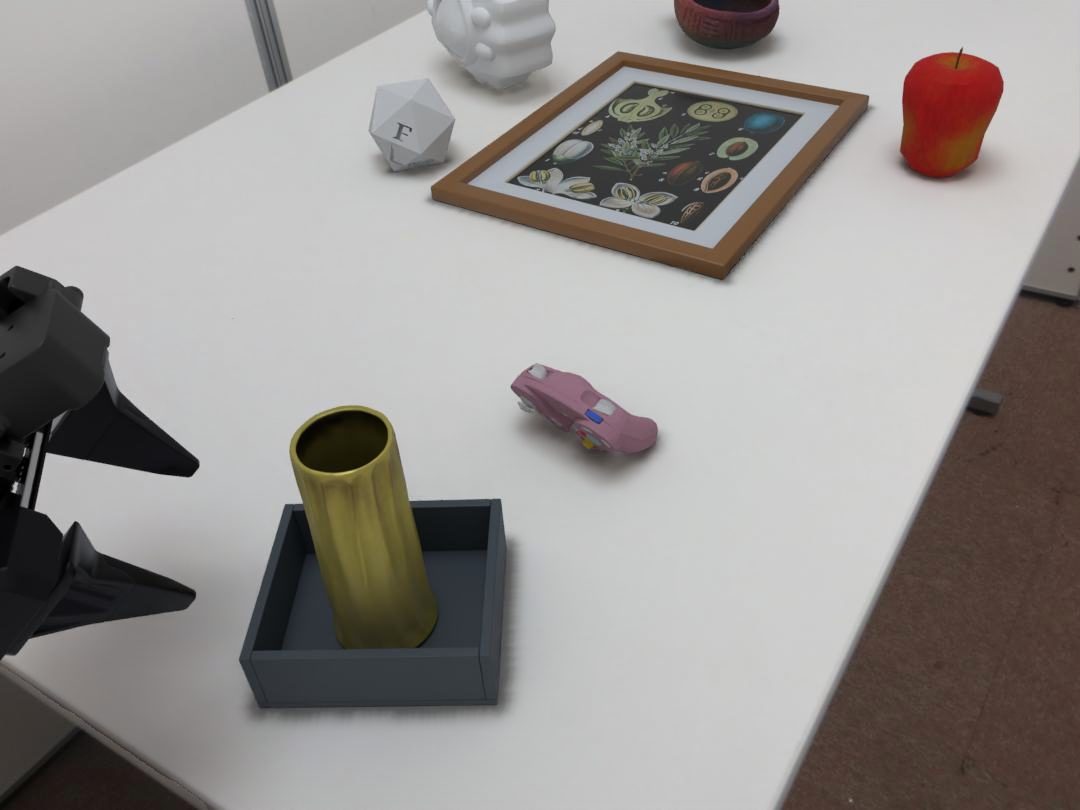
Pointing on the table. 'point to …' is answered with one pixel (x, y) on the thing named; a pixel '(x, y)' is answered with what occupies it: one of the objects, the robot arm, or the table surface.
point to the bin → (395, 673)
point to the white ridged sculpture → (495, 37)
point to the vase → (363, 528)
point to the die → (411, 124)
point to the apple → (948, 111)
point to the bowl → (726, 21)
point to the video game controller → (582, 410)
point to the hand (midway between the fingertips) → (194, 530)
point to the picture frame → (658, 159)
